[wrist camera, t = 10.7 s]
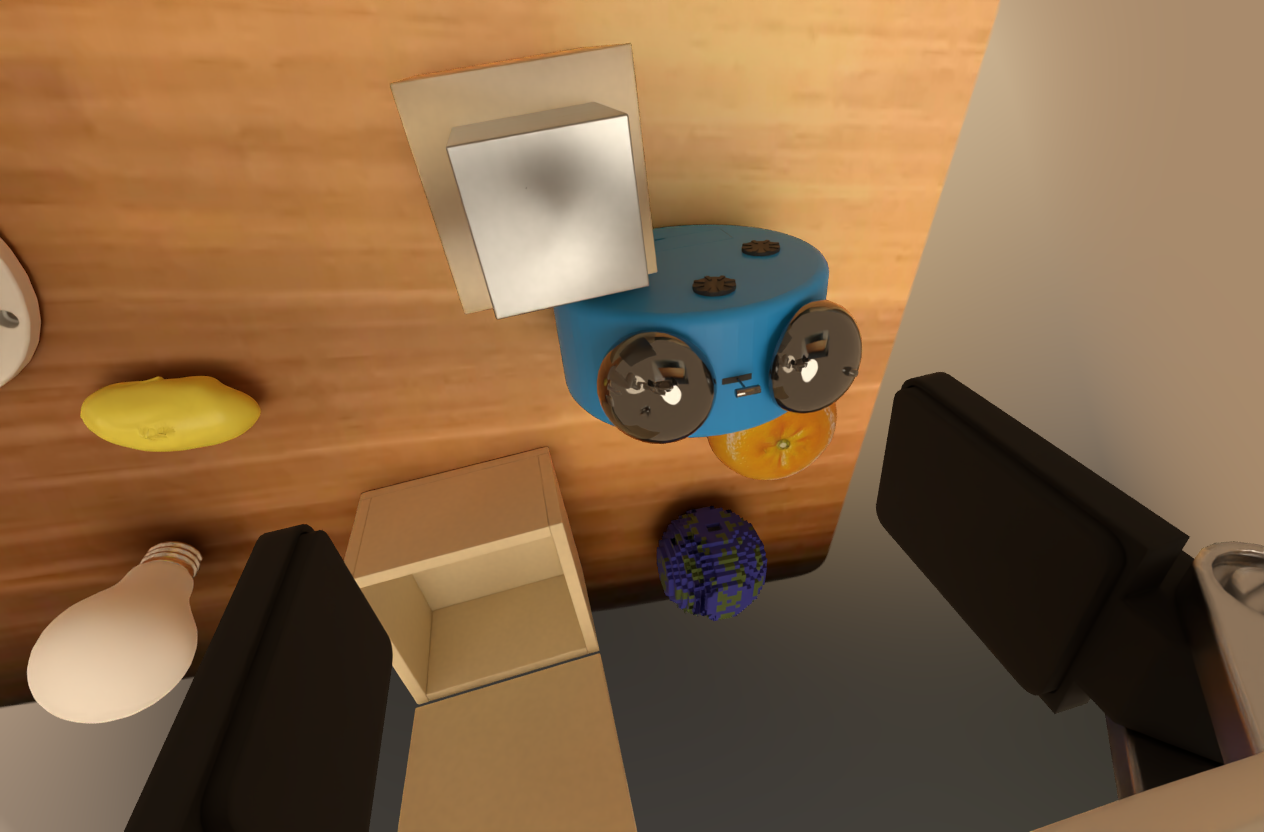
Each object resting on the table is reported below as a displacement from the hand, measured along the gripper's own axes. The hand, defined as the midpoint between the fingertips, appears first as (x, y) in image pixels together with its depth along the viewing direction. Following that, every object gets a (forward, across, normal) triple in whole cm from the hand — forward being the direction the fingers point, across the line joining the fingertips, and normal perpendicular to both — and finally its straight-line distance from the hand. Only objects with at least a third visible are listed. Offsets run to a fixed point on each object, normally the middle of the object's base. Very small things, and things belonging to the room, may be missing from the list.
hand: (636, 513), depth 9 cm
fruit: (+25, -12, +16) cm, 32 cm away
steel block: (+15, 0, -2) cm, 15 cm away
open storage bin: (+25, +8, +22) cm, 35 cm away
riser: (+25, 0, -2) cm, 25 cm away
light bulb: (+25, +26, +17) cm, 40 cm away
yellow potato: (+25, +21, +7) cm, 33 cm away
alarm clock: (+25, -6, +6) cm, 27 cm away
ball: (+25, -8, +28) cm, 38 cm away
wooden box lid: (+10, +8, +27) cm, 30 cm away
